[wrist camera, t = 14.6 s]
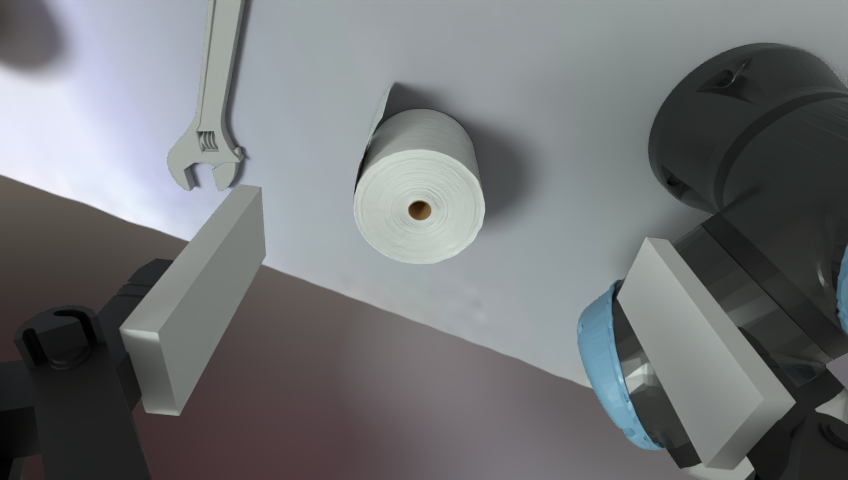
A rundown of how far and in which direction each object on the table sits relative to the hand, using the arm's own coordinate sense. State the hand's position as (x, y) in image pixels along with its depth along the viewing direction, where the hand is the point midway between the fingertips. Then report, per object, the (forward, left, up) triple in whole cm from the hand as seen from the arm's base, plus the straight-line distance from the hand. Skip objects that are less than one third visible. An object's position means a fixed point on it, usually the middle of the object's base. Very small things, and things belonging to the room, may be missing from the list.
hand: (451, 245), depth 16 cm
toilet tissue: (+1, +9, -29) cm, 30 cm away
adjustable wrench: (+19, +4, -29) cm, 35 cm away
